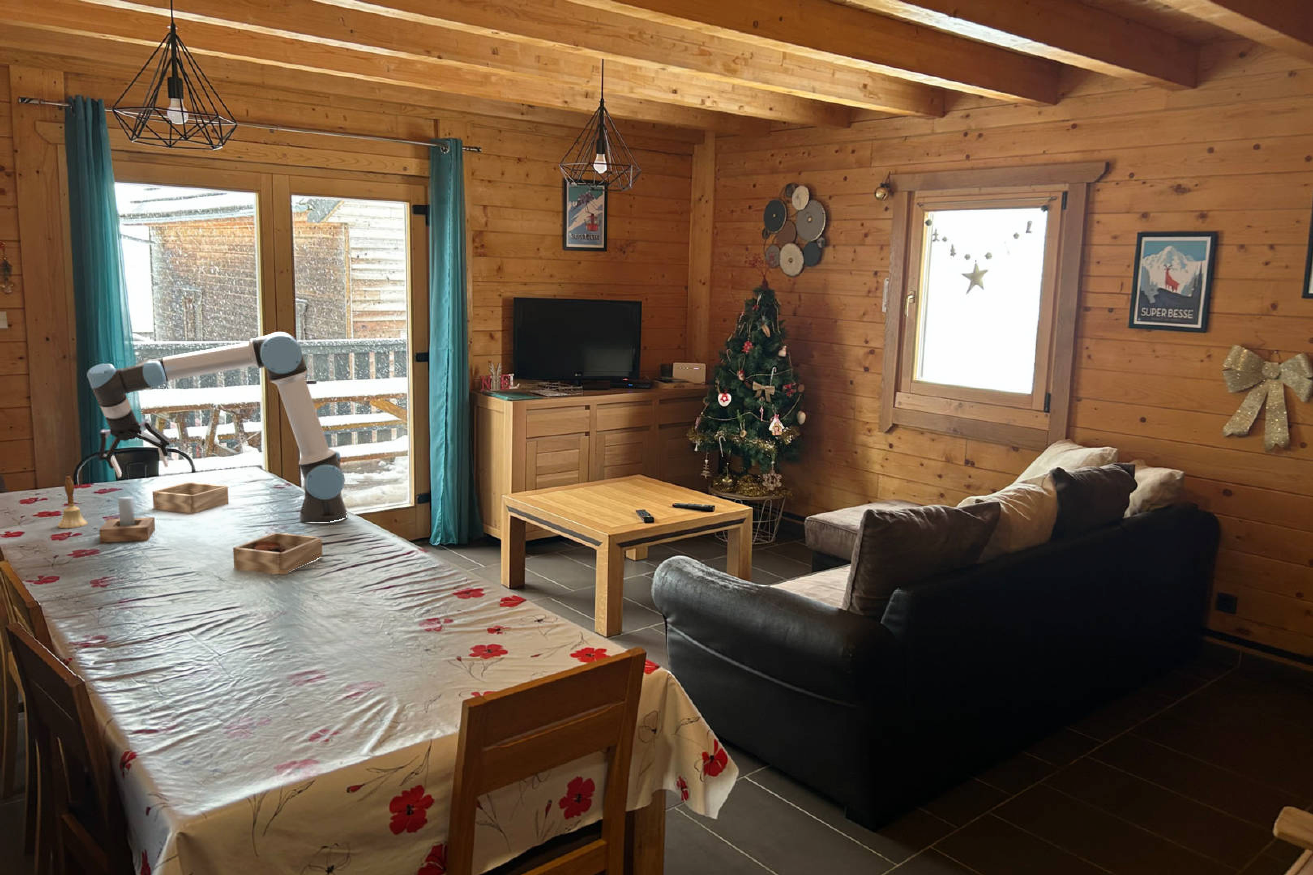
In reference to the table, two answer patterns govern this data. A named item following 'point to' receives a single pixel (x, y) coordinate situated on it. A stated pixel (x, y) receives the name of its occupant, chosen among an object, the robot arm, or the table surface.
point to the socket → (127, 530)
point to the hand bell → (71, 509)
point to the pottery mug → (268, 546)
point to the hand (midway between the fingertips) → (143, 469)
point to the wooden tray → (190, 497)
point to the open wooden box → (278, 554)
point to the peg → (126, 511)
